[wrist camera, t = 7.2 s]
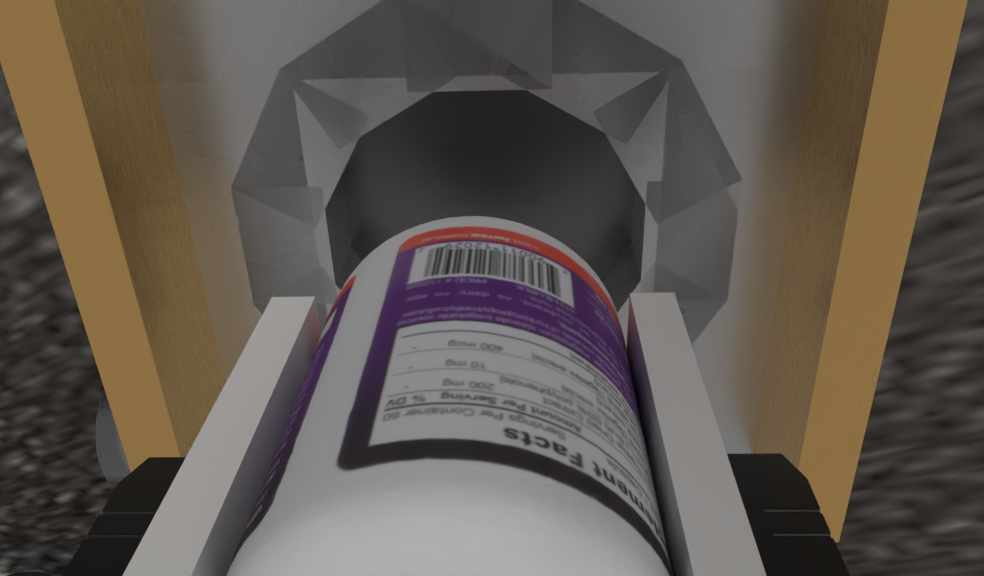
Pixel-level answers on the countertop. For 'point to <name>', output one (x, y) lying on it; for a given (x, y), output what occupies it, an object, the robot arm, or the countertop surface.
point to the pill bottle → (463, 422)
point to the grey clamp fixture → (489, 178)
